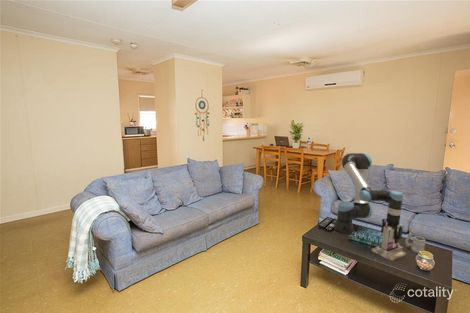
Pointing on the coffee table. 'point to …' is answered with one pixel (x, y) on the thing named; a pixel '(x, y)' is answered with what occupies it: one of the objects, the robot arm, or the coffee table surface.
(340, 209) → the robot arm
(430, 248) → the coffee table surface
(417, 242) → the mug
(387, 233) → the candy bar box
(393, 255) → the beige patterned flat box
